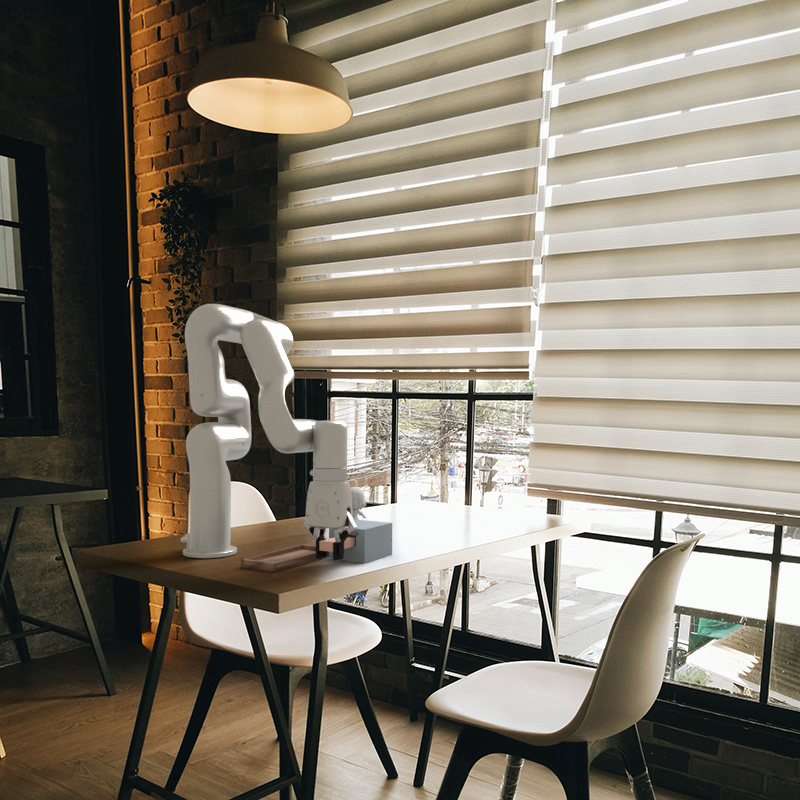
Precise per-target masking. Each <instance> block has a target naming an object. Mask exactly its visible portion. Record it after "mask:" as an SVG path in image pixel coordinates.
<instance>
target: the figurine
mask: <svg viewBox="0 0 800 800" xmlns="http://www.w3.org/2000/svg"><path fill="white" fill-rule="evenodd" d="M350 490H351V496H352V509H353V520H360V519H359V517H358V515H359V516H361V517H362V519H367V517H366V516H365V514H364V513H363V511H362V509H363V508H365V507H367V503H366V495H365V492H364V490H363V489H362V488H360V487H358V486H352V487H351V486H350Z"/></svg>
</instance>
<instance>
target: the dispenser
mask: <svg viewBox="0 0 800 800" xmlns="http://www.w3.org/2000/svg"><path fill="white" fill-rule="evenodd" d="M354 522H355V524H356V526H357V530H356V531H354V532H353V533H351V534H350V535H353V536H356V546H354V547H350V548H346V549H344V557H343V559H340V560H339V561H344V562H350V563H351V562H352V563H360V564H367V563H370V562H374V561H377V560H380V559H382V558H383V559H384V558H385V557H388V556H392V555H393V522H389V521H387V522H386V521H375V520H364V519H359V520H354ZM347 528H348V526H347V527H345V530H346V529H347ZM334 537H335V535H334V529H329V528H328V539H330V538H334ZM328 559H329V560H333V552H329V557H328Z"/></svg>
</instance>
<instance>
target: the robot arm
mask: <svg viewBox="0 0 800 800" xmlns="http://www.w3.org/2000/svg"><path fill="white" fill-rule="evenodd" d="M219 341H222V342H223V341H224V342H230V343H235V344H236V343H237V344H241V345H242V347H243V350H244V352H245V355H246V357H247V360H248V362H249V365H250V367H251V369H252V371H253V374H254V376H255V378H256V381H257V382H258V383H257V384H258V386H259V392H258V402H257V403H258V406H257V407H258V416H259V419H260V423H261V425H262V428H263V430H264V433H265V434H266V437H267V439H268V441H269V442H270V444H271V445H272V447H273V448H274V449H275V450H276V451H278V452H279V453H283V454H294V453H295V454H296V453H297V454H298V453H310V452H313V453H312V455H313V456H312V457H313V458H312V462H313V464H312V466H313V468H312V469H310V471H309V475H310V476H312V481H310V482H309V486H308V489H307V495H306V505H305V520H304V521H303V526H304V527H305V528H306V529H307V530H309V532H310V534H311V535H312V537H313V538H312V539H313V540H314V541H315V546H316V558H322V557H326V556H327V551H321V550H319V541H323V540H326V539H327V538H325V536H326V531H327V530H326V529H328V530H329V529H334V535H335V541H336V542H333V559H332V560H333V561H336V562H337V561H341V560H340V559H343V557H344V541H346V539H347V537H348V536H349V535H350V534H351V533H353V532H354V531H356V530H357V526H356V524H355V522H354V520H353V509H352V496H351V490H350V488H351V486H350V482H349V481H348V426H347V423H346V422H344V421H342V420H315V419H309V418H308V419H305V418H303V419H302V418H294V419H293V417H292V415H291V413H290V411H289V408H288V406H287V402H286V397H285V394H286V393H285V391H286V388H287V386H288V385H290V384H291V383H292V382H293V381H294V379H295V372H294V369H293V367H292V365H291V362H290V361H289V358H288V354H289V353H290V352H291V350H292V349H293V346H294V336H293V334H292V331H291V330H290V329H289V327H288V326H287V325H285V324H284V323H282V322H279V321H276V320H273V319H270V318H268V317H265V316H263V315H260V314H258V313H256V312H252V311H250V310H246V309H242V308H238V307H233V306H229V305H227V304H226V305H225V304H218V303H206V304H203V305H200V306H199V307H197V308H195V309H194V310H193V311H192V313H191V314H190V315H189V317H188V319H187V321H186V323H185V328H184V343H185V348H186V355H187V360H188V361H187V363H188V381H189V382H188V383H189V401H190V407H191V409H192V411H193V412H194V413H195V414H196V415H198V416H201V417H206V418H207V417H208V418H209V417H210V418H211V417H212V418H216V417H217V419H218V421H215V422H213V421H212V422H203V423H199V424H197V425H194V427H192V428H191V429H190V431H189V432H188V434H187V436H186V440H185V449H186V450H185V451H186V455H187V460H188V467H189V533H185V534H184V536H182V537H181V538H180V543H185V544H186V548H183V550H182V555H183V556H184V557H187V558H192V559H193V558H195V559H212V558H213V559H216V558H223V557H229V556H232V555H236V554H237V553H238V547H237V546H235V545H231V523H232V522H231V517H232V516H231V512H232V511H231V509H232V507H231V505H232V504H231V503H232V500H231V499H232V498H231V497H232V495H231V494H232V493H231V492H232V491H231V490H232V487H231V485H232V484H231V483H232V482H231V480H232V479H231V473H230V470H229V468H228V465H227V461H234V460H240V459H242V458H244V457H245V456H246V455H247V454H248V453H249V451H250V449H251V445H252V423H251V422H252V421H251V405H250V404H251V402H250V396H249V394H248V390H247V388H245V386H244V385H243V384H242V383H241V382H239V381H238V380H234V379H229V378H226V371H225V370H226V369H225V359H224V356H223V352H222V350H221V348H220V346H219V344H218V342H219ZM347 526H348V528H347V529H346V530H345V527H347Z"/></svg>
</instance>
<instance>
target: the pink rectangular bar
mask: <svg viewBox="0 0 800 800" xmlns="http://www.w3.org/2000/svg"><path fill="white" fill-rule="evenodd" d="M333 542H336V541H335V537H334V538H330V539H329V538H326V540H323V541H319V550H321V551H329V552H333ZM354 546H356V536H353V535H349V536H348V537H347V539H346V541H344V549H346V548H350V547H354Z"/></svg>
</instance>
